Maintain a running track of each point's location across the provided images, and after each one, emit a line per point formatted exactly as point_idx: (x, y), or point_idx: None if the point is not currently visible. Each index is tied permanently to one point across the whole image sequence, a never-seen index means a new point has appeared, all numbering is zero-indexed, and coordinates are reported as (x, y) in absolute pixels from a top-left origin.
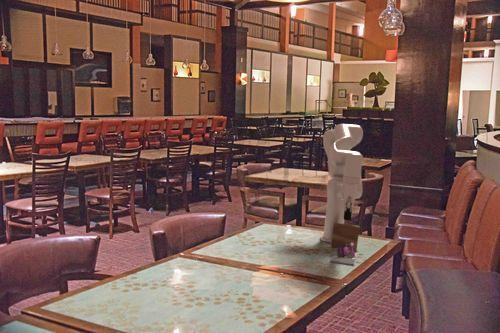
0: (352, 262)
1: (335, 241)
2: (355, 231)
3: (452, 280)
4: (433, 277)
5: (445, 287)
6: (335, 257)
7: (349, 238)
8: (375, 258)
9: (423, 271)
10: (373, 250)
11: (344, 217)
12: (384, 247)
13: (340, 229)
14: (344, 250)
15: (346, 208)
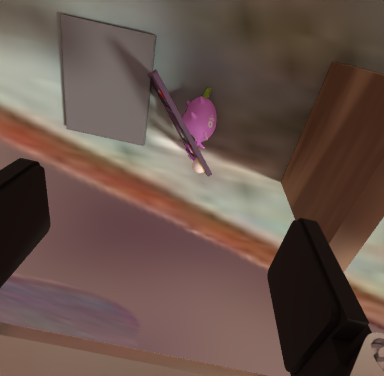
0: (90, 128)
1: (338, 91)
2: None
3: (78, 336)
4: (78, 312)
5: (17, 310)
6: (133, 55)
7: (311, 176)
8: (201, 228)
9: (117, 309)
10: None
11: (6, 177)
12: None
13: (362, 140)
14: (184, 116)
15: (317, 311)
